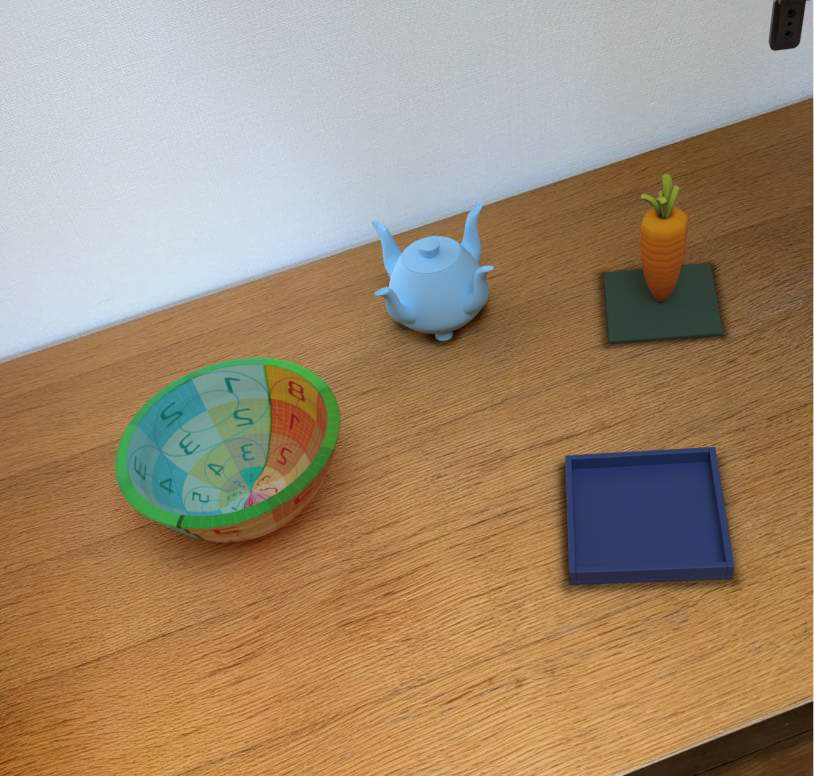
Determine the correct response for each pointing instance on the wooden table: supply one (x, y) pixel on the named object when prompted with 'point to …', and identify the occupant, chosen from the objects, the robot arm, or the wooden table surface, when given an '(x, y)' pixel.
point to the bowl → (230, 449)
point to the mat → (661, 306)
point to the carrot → (663, 240)
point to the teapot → (435, 280)
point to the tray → (646, 517)
